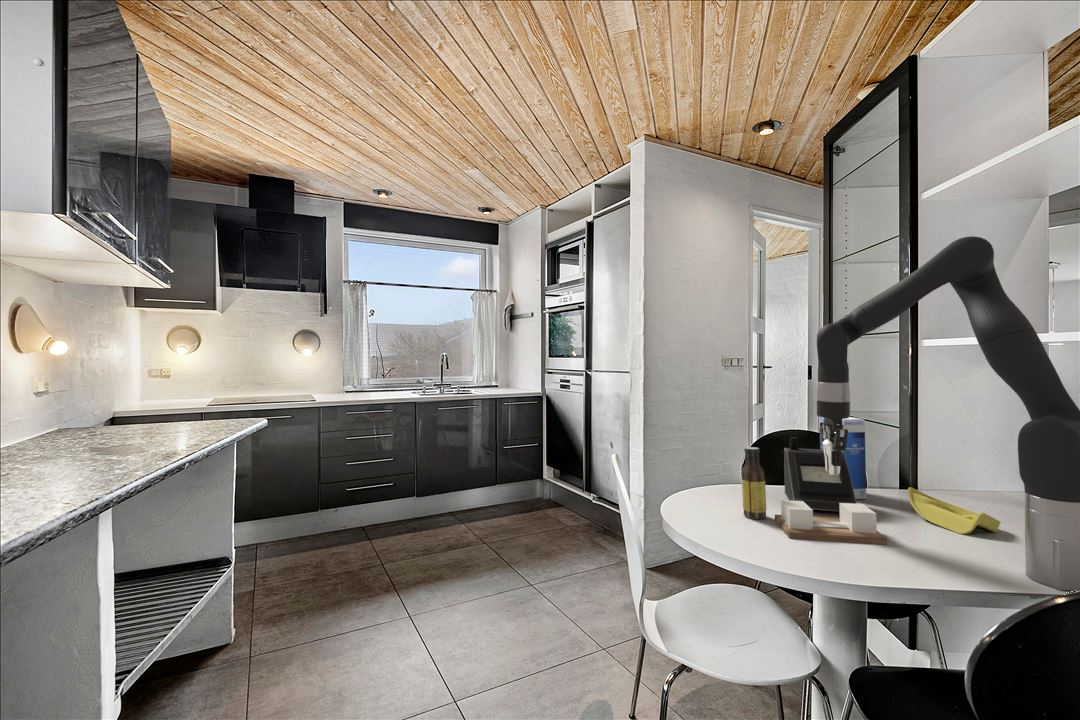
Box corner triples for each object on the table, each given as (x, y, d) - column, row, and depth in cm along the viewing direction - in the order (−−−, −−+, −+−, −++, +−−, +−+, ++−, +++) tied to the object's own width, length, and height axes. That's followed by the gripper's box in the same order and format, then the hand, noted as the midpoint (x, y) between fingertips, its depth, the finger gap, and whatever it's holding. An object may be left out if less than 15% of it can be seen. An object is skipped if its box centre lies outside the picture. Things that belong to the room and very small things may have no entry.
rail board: (887, 544, 116) (886, 536, 116) (789, 537, 121) (789, 530, 121) (861, 524, 130) (861, 517, 130) (774, 519, 135) (774, 513, 135)
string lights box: (867, 499, 152) (866, 419, 152) (844, 499, 152) (842, 419, 152) (840, 488, 166) (839, 414, 166) (819, 488, 165) (818, 414, 165)
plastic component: (1005, 524, 123) (978, 510, 120) (993, 550, 122) (966, 536, 120) (929, 496, 142) (905, 484, 140) (919, 519, 142) (894, 507, 140)
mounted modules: (876, 533, 119) (876, 513, 119) (789, 528, 124) (789, 509, 124) (862, 522, 127) (862, 504, 127) (781, 518, 131) (781, 500, 131)
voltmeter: (794, 512, 141) (793, 445, 141) (784, 497, 156) (784, 436, 156) (857, 518, 135) (856, 448, 135) (841, 501, 151) (840, 438, 151)
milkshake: (835, 477, 123) (835, 439, 122) (818, 471, 128) (818, 435, 127) (849, 475, 124) (849, 437, 123) (831, 470, 129) (832, 433, 128)
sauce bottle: (769, 516, 138) (768, 447, 138) (761, 521, 133) (760, 450, 133) (747, 511, 142) (746, 445, 142) (738, 516, 138) (737, 448, 138)
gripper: (860, 402, 118) (860, 471, 118) (839, 397, 132) (839, 458, 132) (826, 401, 120) (826, 469, 120) (809, 396, 133) (809, 457, 134)
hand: (833, 463), depth 126 cm, fingers closed on milkshake, 4 cm apart
